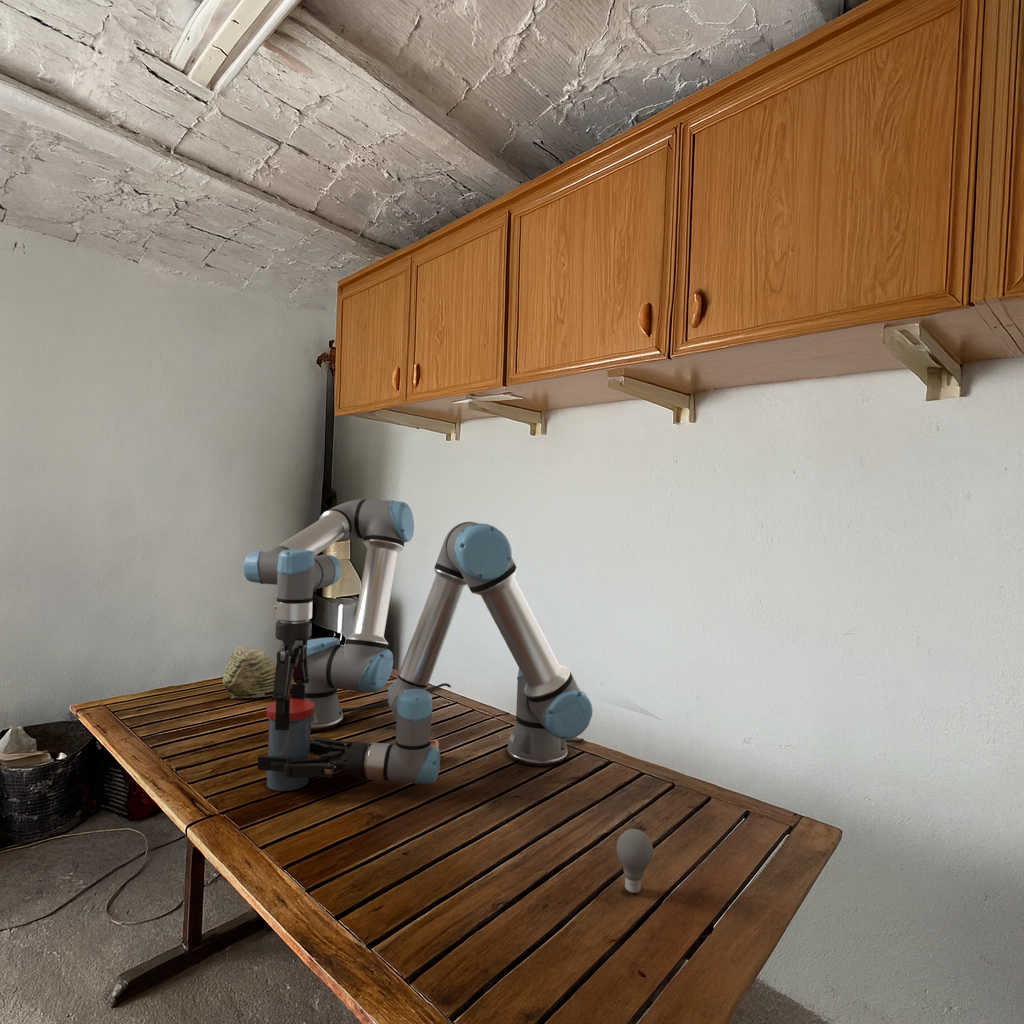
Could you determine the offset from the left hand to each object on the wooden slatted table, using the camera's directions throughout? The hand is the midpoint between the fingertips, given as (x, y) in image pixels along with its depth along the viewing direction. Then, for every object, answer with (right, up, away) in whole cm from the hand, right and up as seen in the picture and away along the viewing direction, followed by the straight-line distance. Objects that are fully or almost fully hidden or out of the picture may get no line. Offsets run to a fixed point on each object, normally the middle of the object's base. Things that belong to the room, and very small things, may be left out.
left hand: (290, 720), depth 140 cm
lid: (0, +3, 0) cm, 3 cm away
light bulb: (+69, -17, -34) cm, 79 cm away
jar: (-1, -14, 0) cm, 14 cm away
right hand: (-5, -7, +1) cm, 9 cm away
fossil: (-32, -11, +58) cm, 67 cm away
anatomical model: (+24, -14, +14) cm, 31 cm away
